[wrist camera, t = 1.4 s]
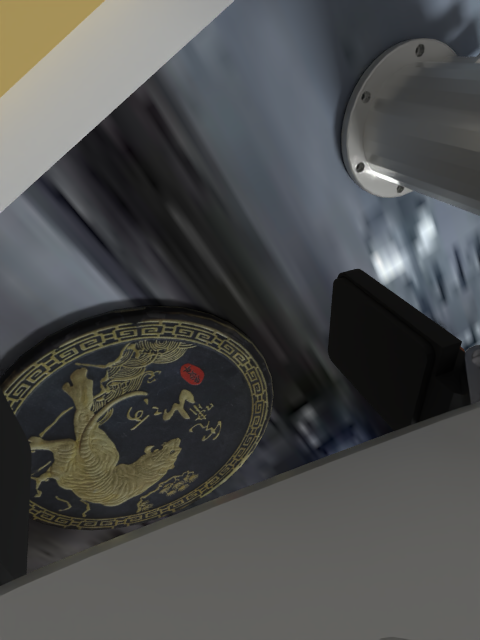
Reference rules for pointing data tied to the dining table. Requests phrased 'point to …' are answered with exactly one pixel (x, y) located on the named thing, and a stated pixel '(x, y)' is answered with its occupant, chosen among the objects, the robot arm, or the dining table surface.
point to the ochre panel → (35, 32)
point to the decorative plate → (136, 414)
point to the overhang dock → (89, 81)
